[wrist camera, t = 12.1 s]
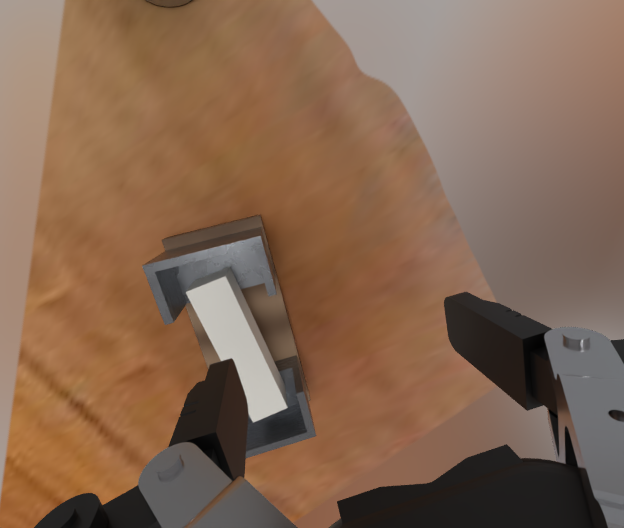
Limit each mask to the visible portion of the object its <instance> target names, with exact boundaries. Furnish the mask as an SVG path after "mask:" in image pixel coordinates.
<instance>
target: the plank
mask: <svg viewBox="0 0 624 528" xmlns="http://www.w3.org/2000/svg"><path fill="white" fill-rule="evenodd" d="M258 227H261V228H262V232H263V235H264V239H265V243H266V246H267V250H268V254H269V257H270V261H271V264H272V268H273V272H274V277H275V284H276V292H277V295H273V296H270V297H269V296H268V293H267V289H266V286H265V283H262V284H259V285H255V286H251V287H247V288H244V289H241V292H242V294H243V296H244V298H245V300H246V302H247V305H248V307H249V309H250V311H251V313H252V315H253V317H254V320H255V322H256V324H257V326H258V328H259V330H260V332H261V335H262V337H263V339H264V341H265V343H266V345H267V348H268V350H269V352H270V354H271V356H272V358H273V360H274V361H278V360H281V359H285V358H288V357H292V356H295V355H297V359H298V363H299V366H300V370H301V374H302V377H303V381H304V385H305V388H306V392H307V396H308V401H310V396H309V392H308V388H307V384H306V381H305V377H304V373H303V370H302V366H301V362H300V359H299V355H298V351H297V348H296V344H295V340H294V337H293V333H292V329H291V326H290V322H289V318H288V315H287V311H286V307H285V304H284V300H283V296H282V293H281V289H280V285H279V282H278V278H277V274H276V271H275V267H274V263H273V260H272V256H271V252H270V249H269V245H268V241H267V238H266V234H265V230H264V227H263V223H262V219H261V216H260V215H256V216H252V217H248V218H244V219H240V220H236V221H232V222H228V223H224V224H220V225H216V226H212V227H207V228H203V229H199V230H195V231H191V232H187V233H183V234H179V235H175V236H171V237H167V238H165V239H163V240H162V242H163V245H164V248H165V251H167V250H170V249H174V248H178V247H182V246H186V245H190V244H194V243H198V242H202V241H206V240H210V239H214V238H218V237H222V236H226V235H230V234H234V233H238V232H242V231H246V230H250V229H254V228H258ZM185 306H186V309H187V312H188V314H189V317H190V320H191V323H192V325H193V328H194V331H195V334H196V337H197V339H198V342H199V345H200V348H201V350H202V353H203V356H204V359H205V361H206V364H207V367H208V369H209V366H210V364H213V363H216V362H220V361H221V360H220V358H219V356H218V354H217V352H216V350H215V348H214V346H213V344H212V342H211V340H210V339H209V337H208V335H207V333H206V331H205V329H204V327H203V325H202V323H201V321H200V319H199V317H198V315H197V313H196V312H195V310H194V308H193V306H192V304H191V303H187V304H186V305H185Z"/></svg>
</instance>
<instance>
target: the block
mask: <svg viewBox="0 0 624 528" xmlns="http://www.w3.org/2000/svg"><path fill="white" fill-rule="evenodd" d="M186 294H187V296H188V298H189V300H190V302H191V304H192V306H193V308H194V310H195V312H196V313H197V315H198V317H199V319H200V321H201V323H202V325H203V327H204V329H205V331H206V333H207V335H208V337H209V339H210V340H211V342H212V344H213V346H214V348H215V350H216V352H217V354H218V356H219V358H220V360H221V361H223V360H227V359H230V358H232V359H233V360H234V362H235V365H236V368H237V371H238V374H239V377H240V380H241V383H242V386H243V389H244V392H245V395H246V399H247V404H248V414H249V416H250V418H251V420H252V421H253V423H254V422H256V421H258V420H261V419H263V418H265V417H268V416H270V415H272V414H275V413H277V412H279V411H281V410H284V409H286V408H288V405H287V397H286V388H285V384H284V382H283V380H282V378H281V375H280V373H279V371H278V369H277V367H276V365H275V363H274V360H273V358H272V356H271V354H270V352H269V350H268V348H267V345H266V343H265V341H264V339H263V337H262V335H261V332H260V330H259V328H258V326H257V324H256V322H255V320H254V317H253V315H252V313H251V311H250V309H249V307H248V305H247V302H246V300H245V298H244V296H243V294H242V292H241V289H240V287H239V285H238V283H237V281H236V279H235V277H234V274H233V272H232V270H231V268H230V267H227V268H225V269H222V270H220V271H217V272H215V273H212V274H210V275H207V276H205V277H202V278H200V279H197V280H195V281H194V282H193V283H192V284H191V286H190V287H189V288H188V290H187V291H186Z"/></svg>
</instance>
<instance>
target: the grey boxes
mask: <svg viewBox="0 0 624 528" xmlns="http://www.w3.org/2000/svg"><path fill="white" fill-rule="evenodd" d="M142 267H143V269H144V272H145V274H146V277H147V280H148V282H149V285H150V287H151V290H152V292H153V295H154V298H155V300H156V303H157V305H158V308H159V311H160V313H161V316H162V318H163V321H164V324H165V325H166V324H170V323H174V321H175V320H176V318H177V317H178V315H179V314H180V312H181V311H182V309H183V308H184V306H185V305H186V304H187V303H191V302H190V300H189V298H188V296H187V294H186V291H187V290H188V288H189V287H190V286H191V284H192V283H193V282H194V281H195V280H197V279H200V278H202V277H205V276H207V275H210V274H212V273H215V272H217V271H220V270H222V269H225V268H227V267H230V268H231V270H232V272H233V274H234V277H235V279H236V281H237V283H238V285H239V287H240V289H244V288H247V287H251V286H255V285H259V284H262V283H265V286H266V289H267V293H268V296H269V297H270V296H273V295H277V292H276V284H275V277H274V272H273V268H272V264H271V261H270V257H269V254H268V250H267V246H266V243H265V239H264V235H263V232H262V228H261V227H258V228H254V229H250V230H246V231H242V232H238V233H234V234H230V235H226V236H222V237H218V238H214V239H210V240H206V241H202V242H198V243H194V244H190V245H186V246H182V247H178V248H174V249H170V250H167V251H165V252H163V253H162V254H160V255H159V256H157V257H155V258H154V259H152V260H151V261H149V262H147V263H146V264H144V265H143V266H142ZM274 363H275V365H276V367H277V369H278V371H279V373H280V375H281V378H282V380H283V382H284V384H285V388H286V397H287V405H288V408H286V409H284V410H281V411H279V412H277V413H275V414H272V415H270V416H268V417H265V418H263V419H261V420H258V421H256V422H254V423H253V421H252V420H251V418H250V416H249V414H248V428H247V443H246V458H248V457H251V456H255V455H258V454H261V453H264V452H267V451H270V450H274V449H277V448H280V447H283V446H286V445H289V444H293V443H296V442H299V441H302V440H305V439H308V438H312V437H315V436H316V433H315V429H314V424H313V419H312V415H311V410H310V405H309V401H308V396H307V392H306V388H305V385H304V381H303V377H302V374H301V370H300V366H299V363H298V359H297V355H295V356H292V357H288V358H285V359H281V360H278V361H274Z"/></svg>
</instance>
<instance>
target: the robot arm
mask: <svg viewBox="0 0 624 528" xmlns="http://www.w3.org/2000/svg"><path fill="white" fill-rule="evenodd" d="M146 1H148V2H151V3H153V4H156V5H160V6H165V7H173V6H180V5H183V4H186V3H188V2H190V1H191V0H146ZM444 307H445V315H446V323H447V330H448V337H449V340H450V343H451V345H452V346H453V348H454V349H455V351H456V352H458V353H459V354H460V355H461V356H462V357H464V358H465V359H466V360H467V361H468V362H469V363H471V364H472V365H473V366H474V367H475V368H477V369H478V370H479V371H480V372H481V373H483V374H484V375H485V376H486V377H487V378H489V379H490V380H491V381H492V382H493V383H495V384H496V385H497V386H498V387H499V388H501V389H502V390H503V391H504V392H505V393H507V394H508V395H509V396H510V397H511V398H513V399H514V400H515V401H516V402H517V403H519V404H520V405H521V406H522V407H523V408H525V409H526V410H530V409H533V408H536V407H540V406H543V405H544V406H546V407H547V409H548V422H549V426H550V431H551V436H552V442H553V446H554V451H555V456H556V461H557V462H555V461H551V460H542V459H531V458H522V459H520V458H519V457H518V456H517V455H516V454H515V452H513V450H512V449H511V448H510V447H509V446H508V445H504V446H501V447H498V448H495V449H492V450H489V451H486V452H483V453H480V454H477V455H474V456H471V457H468V458H466V459H464V460H463V461H462V462H460V463H459V464H457V465H456V466H454V467H453V468H452V469H450V470H449V471H447V472H446V473H445V474H443V475H442V476H440V477H439V478H437V479H436V480H434V481H433V482H430V483H427V484H415V485H401V486H387V487H379V488H376V489H373V490H370V491H367V492H364V493H361V494H358V495H355V496H352V497H349V498H346V499H343V500H340V501H337V504H338V508H339V512H340V516H341V519H339V520H338V521H337V522H335V523H334V524H333V525H331V526H330V527H329V528H624V339H623V340H611V341H610V340H609V339H608V338H607V337H606V336H604V335H602V334H600V333H598V332H596V331H593V330H589V329H584V328H578V327H577V328H576V327H560V328H555V329H551V328H549V327H547V326H545V325H543V324H541V323H539V322H537V321H534V320H532V319H531V318H528V317H526V316H522V315H521V314H520V313H518V312H516V311H512V310H511V309H510V308H508V307H506V306H503V305H501V304H499V303H495V302H490V301H486V300H482V299H480V298H478V297H476V296H474V295H472V294H470V293H468V292H463V293H460V294H456V295H453V296H449V297H446V298H445V300H444ZM180 415H181V417H179V420H178V422H177V425H176V428H175V430H174V433H173V436H172V438H171V441H170V444H169V447H168V448H167V449H165V450H163V451H162V452H160V453H159V454H158V455H156V456H155V457H154V458H153V459H152V460H151V461H150V462H149V463H148V464H147V465H146V467H145V468H144V469H143V471H142V473H141V475H140V478H139V482H138V485H137V486H136V487H134V488H133V489H131V490H129V491H127V492H126V493H124V494H122V495H120V496H118V497H117V498H115V499H113V500H111V501H109V502H108V503H106V504H104V505H102V504H101V502H100V500H99V498H98V496H96V495H95V494H93V493H86V494H81V495H78V496H75V497H73V498H71V499H69V500H67V501H65V502H64V503H62V504H60V505H59V506H58V507H56V508H55V509H53V510H52V511H51V512H50V513H48V514H47V515H46V516H45V517H44V518H43V519H42V520H41V521H40V522H39V523H38V524H37V525H36V526H35V527H34V528H297V527H296V526H295V525H294V524H293V523H292V522H291V521H290V520H289V519H288V518H286V517H285V516H284V515H283V514H282V513H281V512H280V511H279V510H278V509H277V508H276V507H275V506H274V505H272V504H271V503H270V502H269V501H268V500H267V499H266V498H265V497H264V496H263V495H262V494H261V493H260V492H258V491H257V490H256V489H255V488H254V487H253V486H252V485H251V484H250V483H249V482H248V481H247V480H245V479H244V474H245V459H246V443H247V428H248V404H247V399H246V395H245V392H244V389H243V386H242V383H241V380H240V377H239V374H238V371H237V368H236V365H235V362H234V360H233V359H232V358H230V359H227V360H223V361H220V362H216V363H213V364H210V366H209V369H208V373H207V376H206V379H205V381H202V382H198V383H197V384H196V385H195V386H194V387H193V389H192V390H191V391H190V392H189V393H188V395H187V398H186V401H185V403H184V407H183V409H182V411H181V414H180Z"/></svg>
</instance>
